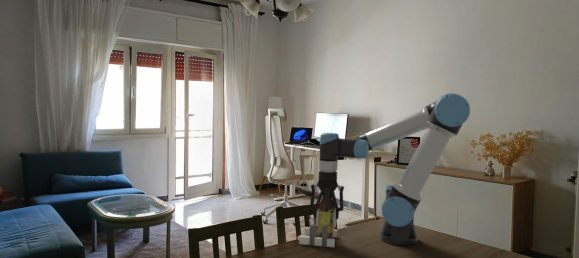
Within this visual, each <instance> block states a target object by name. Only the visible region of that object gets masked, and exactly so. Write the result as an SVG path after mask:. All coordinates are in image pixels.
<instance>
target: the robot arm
mask: <svg viewBox="0 0 579 258" xmlns="http://www.w3.org/2000/svg"><path fill="white" fill-rule="evenodd" d="M470 114H471V107H470V103H469V101H468V100H467V98H465V97H464V96H462V95H460V94H457V93H453V92H452V93H446V94H444V95H442V96H440V97H439V98H438V99H437V100H436V101H434V102H432V103H431V104H428V105H425V106H424V108H423V109H422V110H419V111H418V112H415V113H413V114H410V115H408V116H406V117H402V118H401V119H397V120H395V121H393V122H391V123H389V124H386V125H382V126H380V127H378V128H376V129H374V130H371V131H369V132H366V133H363V134H361V135H359V136H355V137H353V138H352V139H351V138H340V136H339V133H337V132H335V133H333V132H322V133H321V134H320V140H319V160H318V170H319V171H318V182H316V183H311V185H310V188H311V196H310V204H309V208H310V209H312V210H313V216H314V217H313V219H314V218H317V221H316V226H318V224H319V207H320V206H319V205H320V202H321V200H322V199H323V193H325V192H324V190H325V188H327V189H329V190H330V192H329V193H330V194H331V197H332V201H333V205H334V219H333V228H334V229H336V225H337V223H336V222H337V220H339V217H340V216H339V215H340V212H343V211H344V190H345V186H344V185H339V183H338V172H337V170H338V166H339V163H338V161H339V160H338V158H348V159H357V160H360V159H362V160H363V159H364V160H365V159H367V158H368V156H369V152H370V151H373V150H376V149H378V148H381V147H383V146H385V145H388V144H391V143H393V142H396V141H399V140H402V139H405V138H406V137H409V136H411V135H414V134H417V133H419V132H421V131H425V130H426V131H425V133H424V135H423V137H422V138H421V141H420V142H419V145H418V146H417V148H416V150H415V152H414V154H413V156H412V157H411V159H410V161H409V163H408V165H407V166H406V168H405V170H404V172H403V174H402V176H401V178H400V180H399V182H397V183H396V182H395V183H393V184H388V185H386V187H385V188H386V189H385V199H384V201H383V203H382V205H381V214H382V217H383V219H384V222H383V224H382V227H381V230H380V234H379V235H380V237H379V239H381V240H382V241H383V242H385V243H388V244H391V245H394V246H395V245H397V246H411V245H416V244H417V243H418V234H417V230H416V227H415V223H414V221H415V220H414V219H415V213H416V210H417V208H418V207H419V205H420V203H421V201H422V197H421V192H422V190H423V189H424V186H425V185H426V183H427V181H428V180H429V178H430V177H431V176H430V175H431V174H432V172H433V170H434V169H435V167H436V164H437V163H438V161H439V159H440V157H441V155H442V153H444V150H445V148H446V146H447V145H448V142H449V141H450V139H451V138H453V137H456V136H458V133H459V132H460V130H461V128H462V126H463V125H464V123H466V122H467V120H468V118H469V116H470ZM317 188H318V189H319V190H320V192H319V194H318V197H317V201H316V203H315V196H316V189H317ZM336 190H338V192H339V204H338V201H337V197H336V193H335V191H336Z"/></svg>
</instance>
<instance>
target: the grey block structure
mask: <svg viewBox="0 0 579 258" xmlns="http://www.w3.org/2000/svg"><path fill="white" fill-rule="evenodd" d="M316 221H317V218H314V217H313V224H312V223H310V224H309V227H308V226H305V227H304V235H310V237H308V236H300V235H299V236H300V241H298V242H299V245H303V246H305V245H306V246H307V245H308V246H316V247H327V248H328V247H329V248H335V247H336V246H335V243H336V241H335V240H336V239H335V238H338V229H336V228H334V229H333V236H332V237H327V233H328V226H322V237H320V236H319V234H318V233H319V231H318V226H316Z"/></svg>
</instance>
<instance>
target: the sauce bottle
mask: <svg viewBox="0 0 579 258" xmlns="http://www.w3.org/2000/svg"><path fill="white" fill-rule="evenodd" d="M324 192H325V193H323V196H322V198H321V201H320V204H319V206H318V209H319V224H318V231H319V233H318V234H319V236H318V237H320V238H322V226H328V233H327V238H333V237H332V236H333V229H335V228H333V219H334V211H335V207H334V203H333V200H332V197H331V194H330V193H329V192H330V190H329V189H327V188H325V190H324Z"/></svg>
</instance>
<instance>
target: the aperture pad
mask: <svg viewBox="0 0 579 258" xmlns="http://www.w3.org/2000/svg"><path fill="white" fill-rule="evenodd" d="M300 236H308V237H310V235H305V234H300V235H298V236H297V237H296V238H297V240H298V242H300Z"/></svg>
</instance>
